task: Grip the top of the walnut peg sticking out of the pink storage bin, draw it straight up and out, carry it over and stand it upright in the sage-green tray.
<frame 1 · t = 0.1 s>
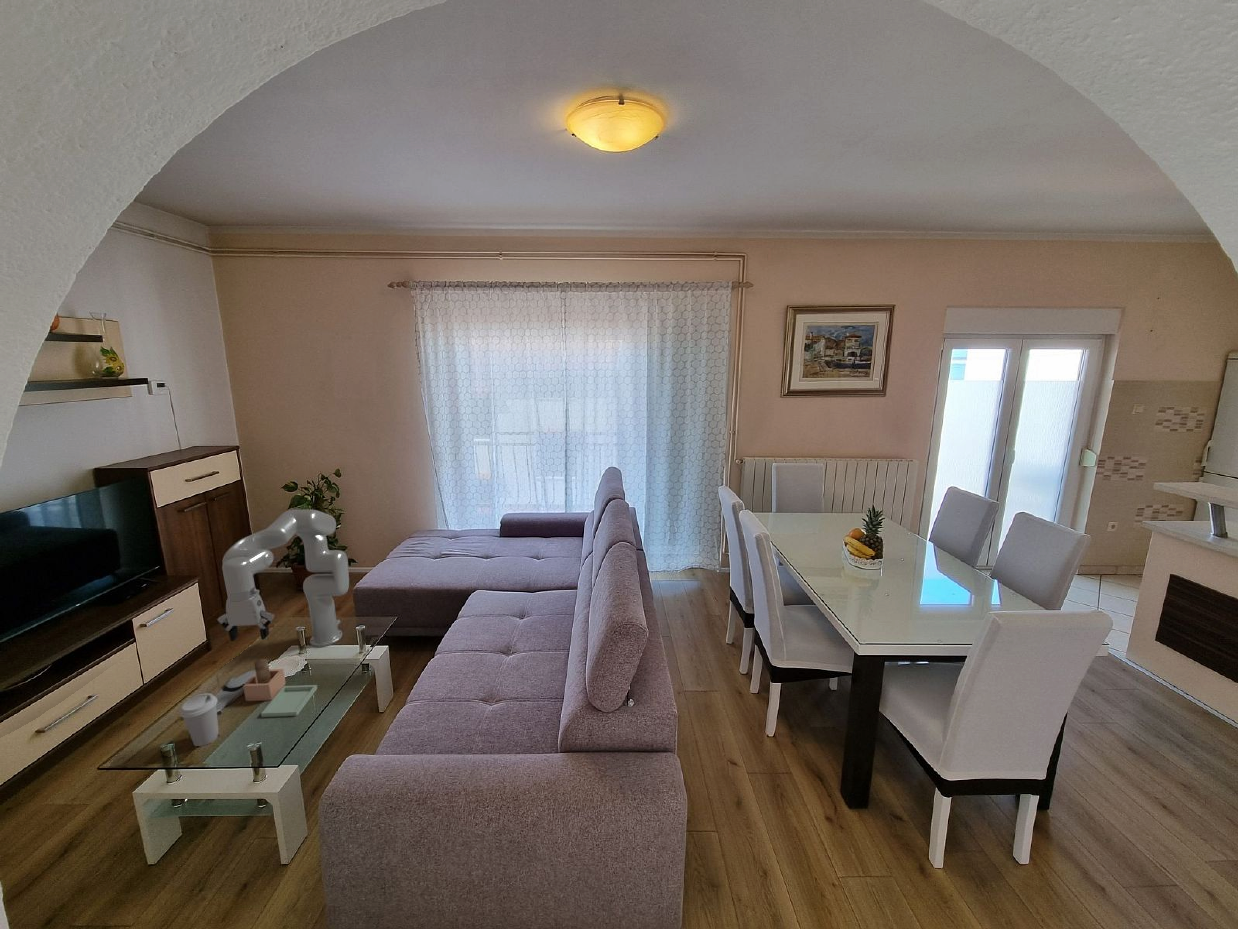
hand: (250, 638, 167), 31 cm above the table, tool pointing down, fingers open, 9 cm apart
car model: (231, 699, 182), on the table
tray: (290, 704, 179), on the table
coffee cup: (206, 739, 163), on the table
peg: (266, 692, 184), point 1 cm above the table, touching pink storage bin
pink storage bin: (266, 694, 184), on the table
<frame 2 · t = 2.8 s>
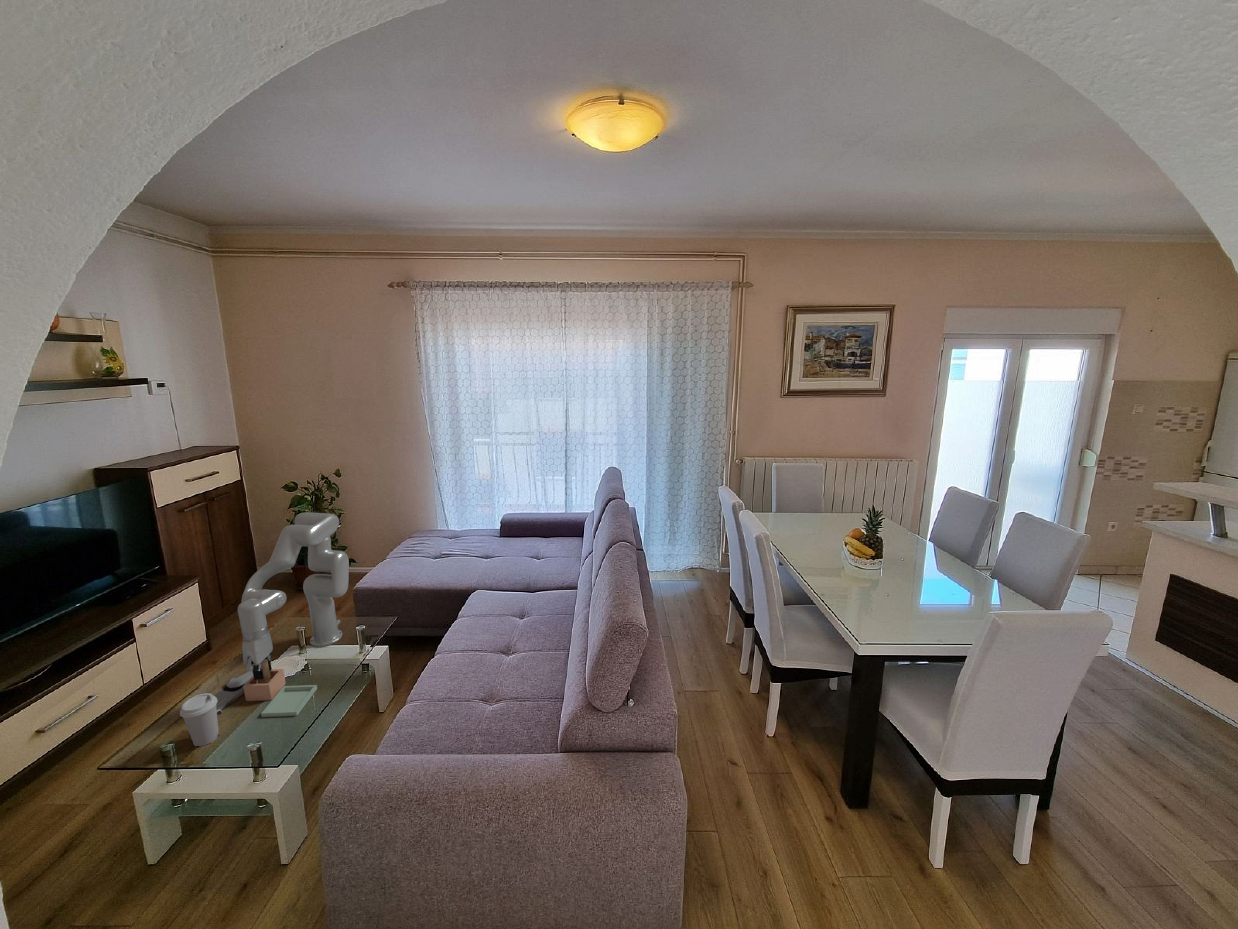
hand: (263, 674, 182), 9 cm above the table, tool pointing down, fingers closed on peg, 4 cm apart
peg: (266, 692, 184), point 1 cm above the table, touching pink storage bin, gripper
everything else where it was.
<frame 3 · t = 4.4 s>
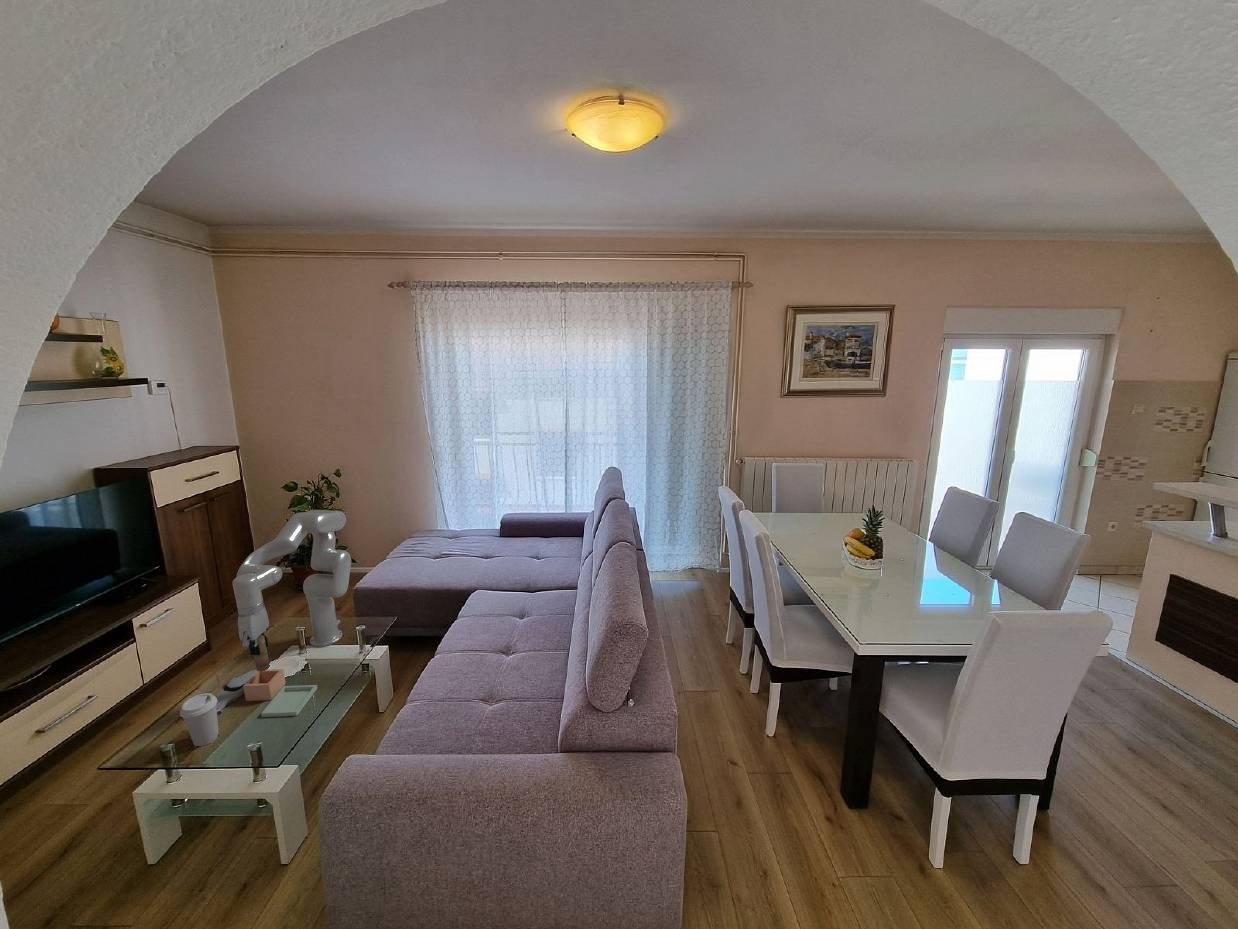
hand: (259, 650, 179), 19 cm above the table, tool pointing down, fingers closed on peg, 4 cm apart
peg: (263, 668, 182), point 11 cm above the table, touching gripper
everything else where it was.
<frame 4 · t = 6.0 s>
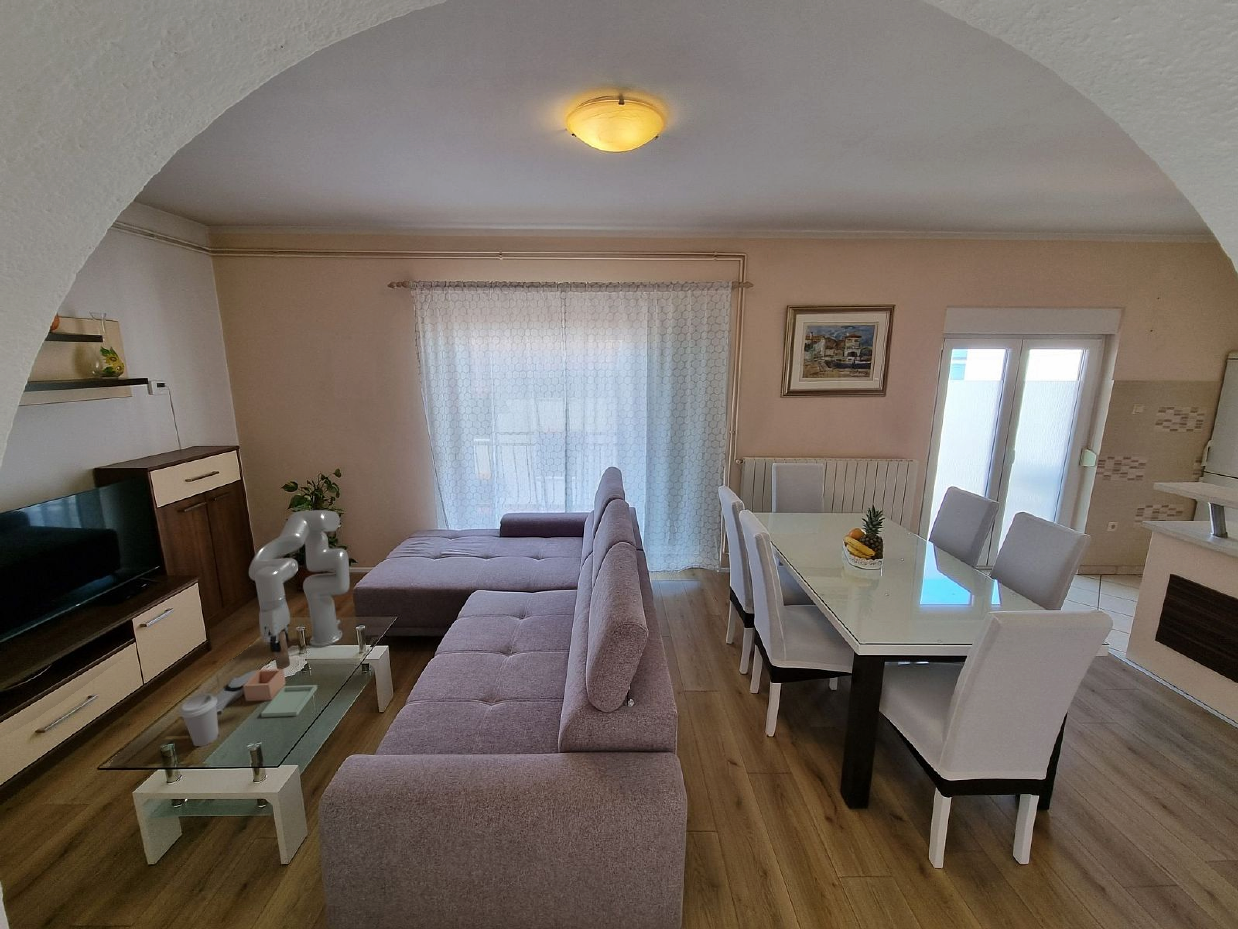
hand: (280, 647, 173), 24 cm above the table, tool pointing down, fingers closed on peg, 4 cm apart
peg: (283, 665, 175), point 17 cm above the table, touching gripper
everything else where it was.
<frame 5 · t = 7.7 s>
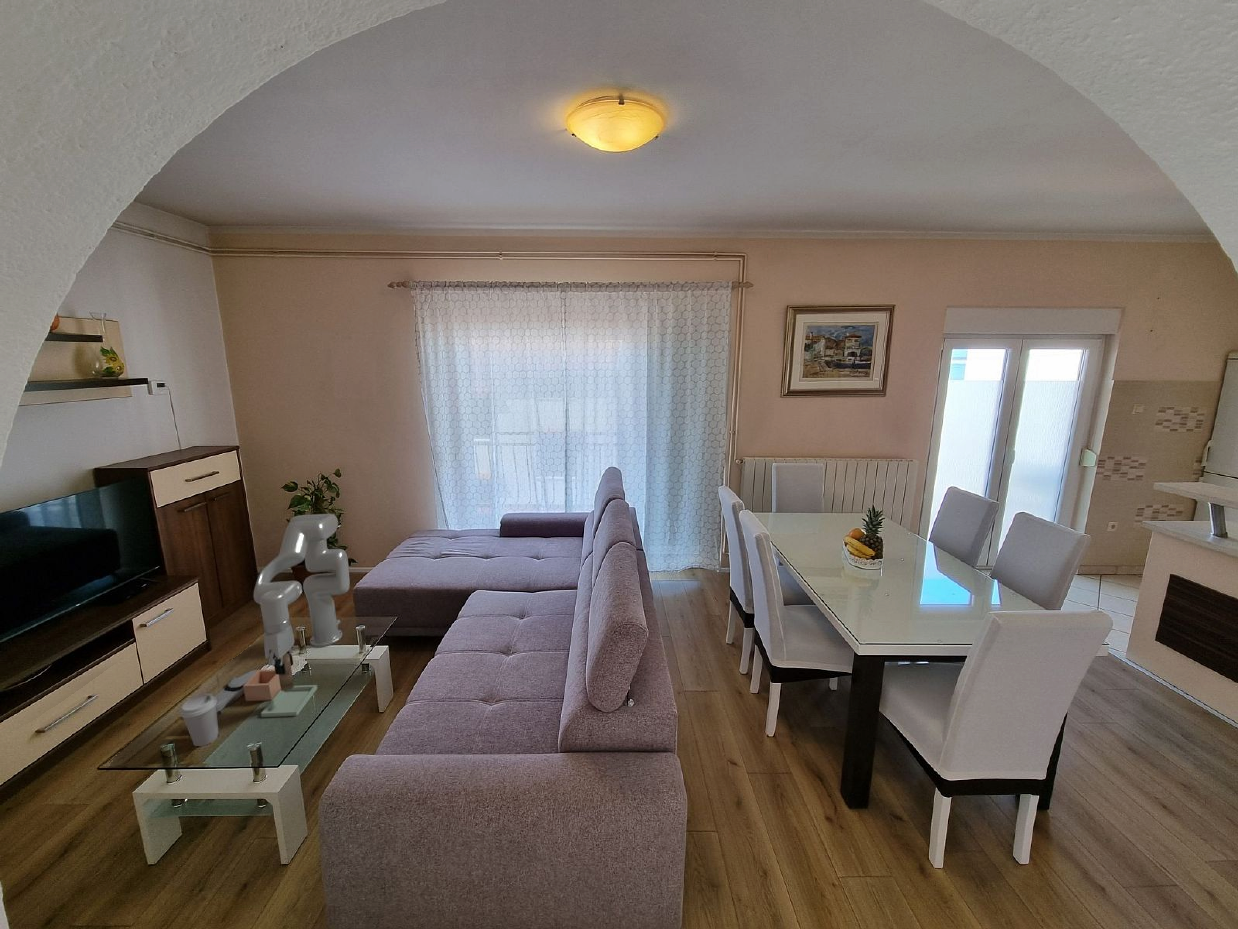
hand: (284, 669, 175), 15 cm above the table, tool pointing down, fingers closed on peg, 4 cm apart
peg: (287, 687, 177), point 8 cm above the table, touching gripper
everything else where it was.
when the fingers open (10 cm above the table, at t = 9.0 s): peg drops 1 cm, resting on tray.
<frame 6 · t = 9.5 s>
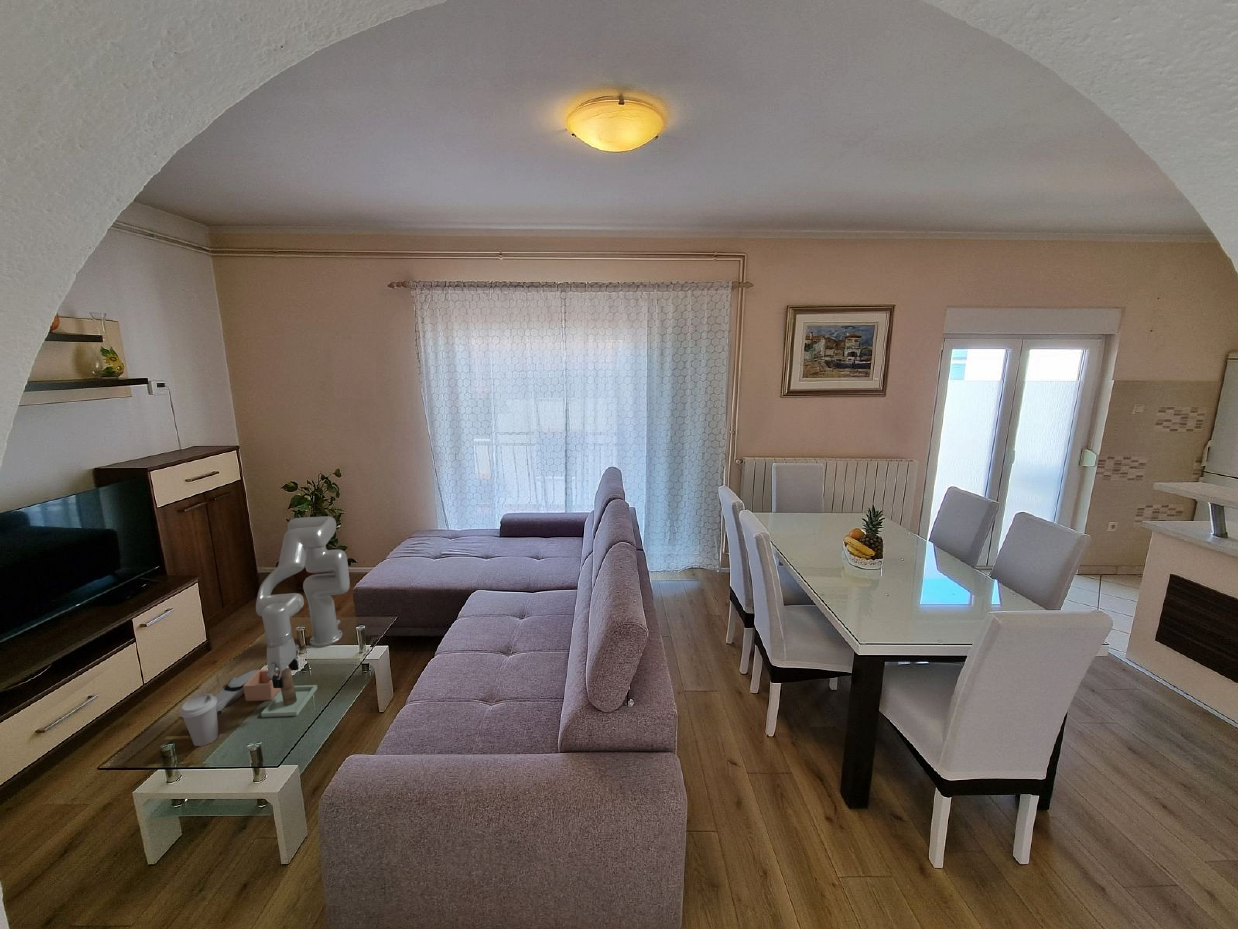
hand: (286, 678, 176), 11 cm above the table, tool pointing down, fingers open, 9 cm apart
peg: (290, 701, 179), point 1 cm above the table, touching tray
everything else where it was.
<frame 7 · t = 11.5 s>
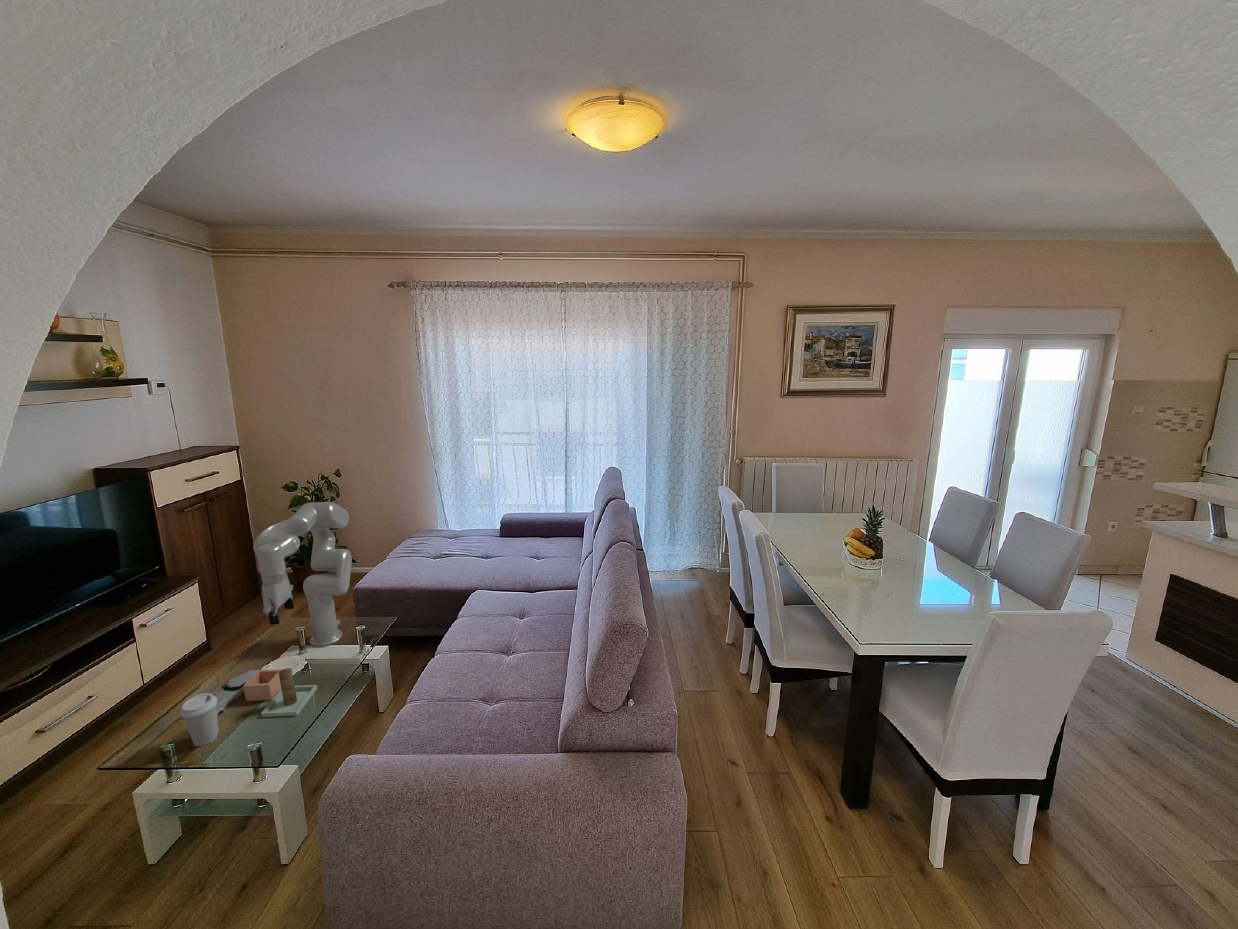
hand: (282, 616, 181), 30 cm above the table, tool pointing down, fingers open, 9 cm apart
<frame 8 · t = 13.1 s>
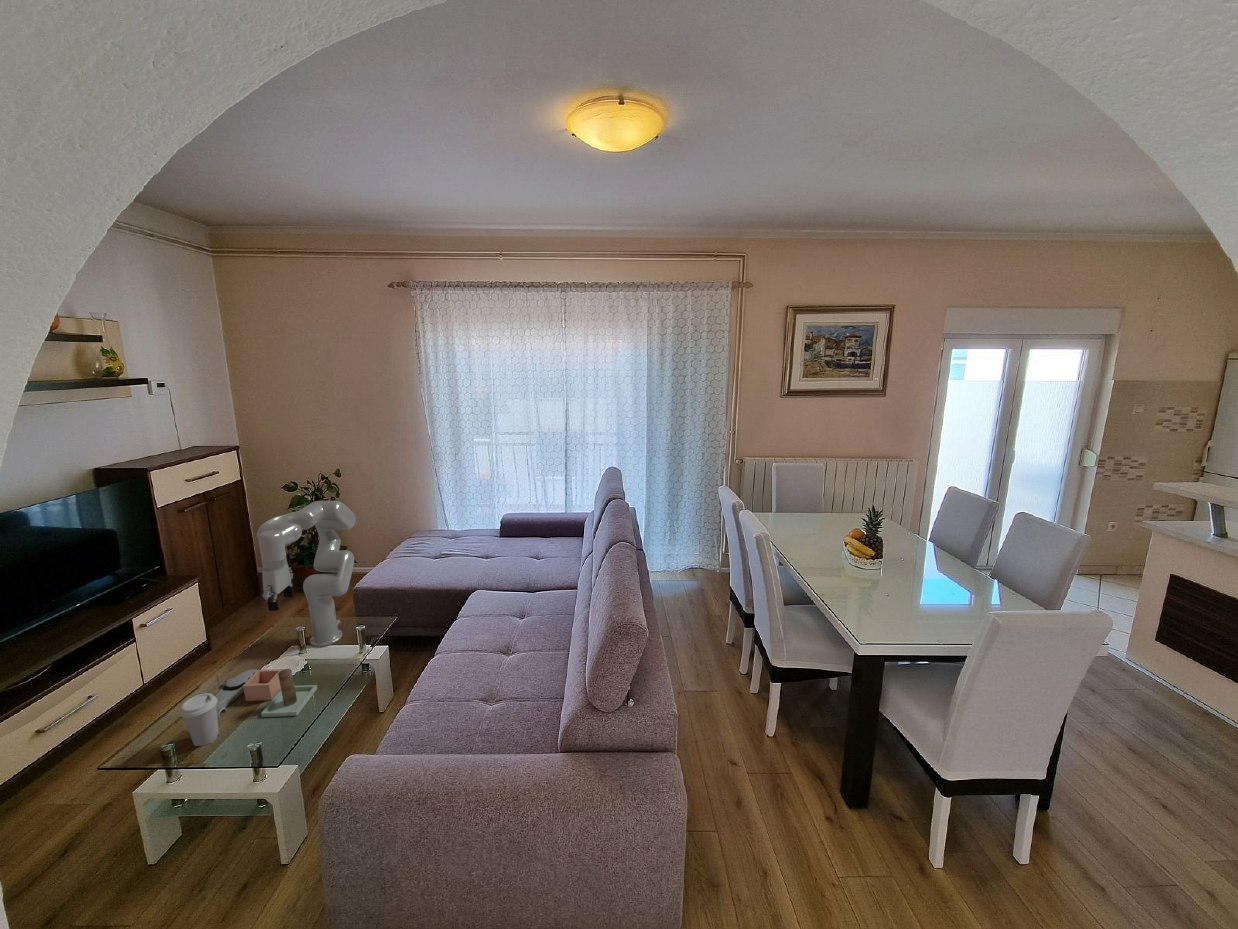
hand: (281, 603, 185), 33 cm above the table, tool pointing down, fingers open, 9 cm apart
at the end: peg inside the target area on the tray (0.1 cm from its centre), point 1.0 cm above the tray's base; peg tilted 1°; the gripper is holding nothing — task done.
